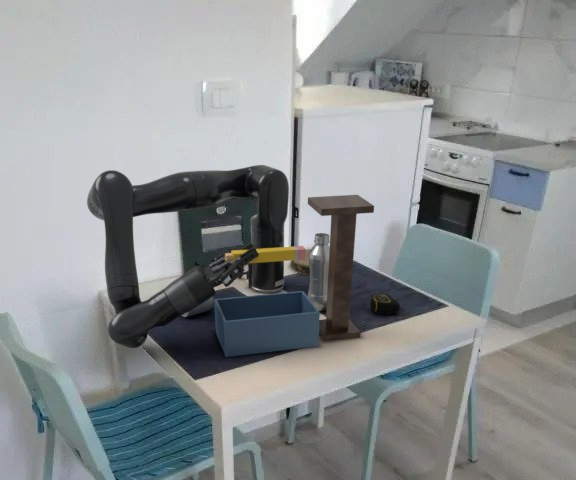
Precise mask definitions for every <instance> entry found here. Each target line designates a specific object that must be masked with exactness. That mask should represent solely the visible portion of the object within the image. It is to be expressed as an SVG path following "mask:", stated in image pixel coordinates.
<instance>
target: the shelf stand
mask: <svg viewBox="0 0 576 480" xmlns="http://www.w3.org/2000/svg"><path fill="white" fill-rule="evenodd" d="M307 205H308V206H309V207H311V209H312V210H314V211H315V212H316V213H317V214H319V215H320V216H321V217H325V216H326V217H328V216H330V217H331V218H330V233H329V240H330V242H329V247H330V251H329V270H328V289H327V308H326V310H325V318H324V319H323V318H322V319H319V336H320V337H321V338H322V339H323V341H324V342H333V341H341V340H349V339H359V338H361V330H359V328H358V327H357V326H356V325H355V324H354V322H353V321H352V320H351V318H350V311H351V310H350V308H351V296H352V284H353V283H352V282H353V271H354V270H353V268H354V256H355V243H356V230H357V229H356V228H357V216H358V215H359V214H374V212H375V205H373V203H371V202H369V201H368V200H366V199H365V198H363V197H362V196H361V195H359V194H347V195H346V194H344V195H328V196H327V195H325V196H310V197H307Z"/></svg>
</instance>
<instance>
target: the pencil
mask: <svg viewBox="0 0 576 480" xmlns="http://www.w3.org/2000/svg"><path fill="white" fill-rule="evenodd" d="M232 250H233V251H231V253H225V261H227V260H230V261H231V260H233V259H235V258H236V257H238V256H240V255H242V254H243V253H244V252H246V251H248V250H249V249H248V250H240V249H235V250H234V249H232ZM256 250H257V252H258V254H259V256H258V257H256V258H255V259H253V260H252V261H250V262H249V263H261V262H275V261H284V262H287V261H291V260H303V259H305V253H306V250H307V249H306V248H305V247H304V246H303V245H295V246H284V247H278V248H263V249H256Z"/></svg>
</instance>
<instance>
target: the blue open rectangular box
mask: <svg viewBox="0 0 576 480" xmlns="http://www.w3.org/2000/svg"><path fill="white" fill-rule="evenodd" d="M307 295H308V294H306V292H305V291H304V290H299V291H289V292H287V291H286V292H275V293H264V294H255V295H245V296H233V297H223V298H214V305H213V307H214V323H215V326H214V327H215V334H216V337H217V339H218V342H219V344H220V346H221V349H222V351H223V354H224V357H226V358H229V357H238V356H246V355H247V356H248V355H256V354H264V353H273V352H282V351H289V350H298V349H299V350H300V349H306V348H307V349H308V348H315V347H316V348H317V347H319V338H320V334H319V320H321V317H320V316H321V311H318V309H317V308H316V307H315V306H314V304H313V303H312V302H311V300H310V299H309V298H308V297H307Z"/></svg>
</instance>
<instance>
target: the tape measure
mask: <svg viewBox="0 0 576 480" xmlns="http://www.w3.org/2000/svg"><path fill="white" fill-rule="evenodd" d="M369 307H370V309H371V310H372V312H375V313H377V314H380V315H389V314H393V313H397V312H399V311H400V309H401V305H400V303H399V301H397V300H396V299H395V298H393V297H392V296H391V295H390V294H389V293H385V294H375V295H373V296H372V297H371V298H370V303H369Z"/></svg>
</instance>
